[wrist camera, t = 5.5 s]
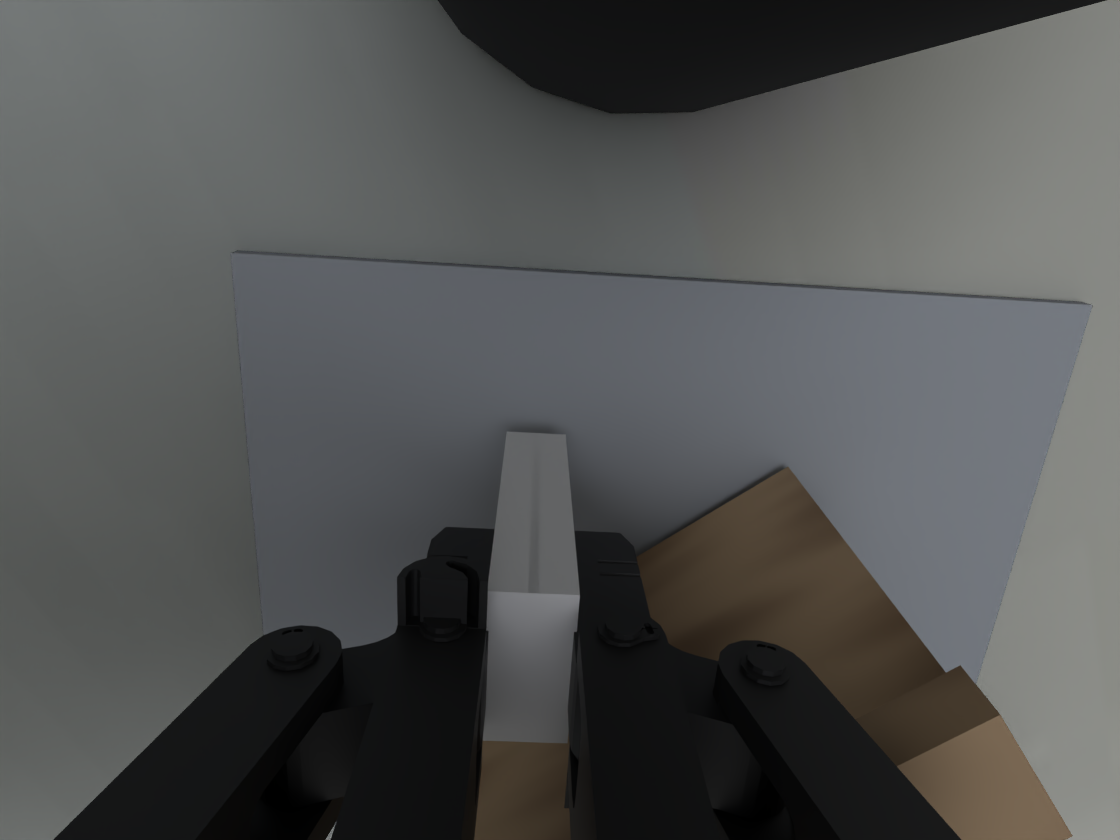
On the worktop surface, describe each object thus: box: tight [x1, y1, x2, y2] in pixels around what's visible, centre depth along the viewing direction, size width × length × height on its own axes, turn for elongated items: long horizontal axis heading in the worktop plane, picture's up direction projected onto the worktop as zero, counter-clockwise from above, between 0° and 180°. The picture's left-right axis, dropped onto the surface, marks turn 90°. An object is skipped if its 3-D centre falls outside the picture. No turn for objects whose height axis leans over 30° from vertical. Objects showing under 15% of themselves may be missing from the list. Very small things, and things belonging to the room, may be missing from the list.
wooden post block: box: [474, 467, 1072, 840], centre depth 15 cm, size 11×3×9 cm, turn 124°
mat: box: [231, 251, 1092, 825], centre depth 20 cm, size 20×17×1 cm
